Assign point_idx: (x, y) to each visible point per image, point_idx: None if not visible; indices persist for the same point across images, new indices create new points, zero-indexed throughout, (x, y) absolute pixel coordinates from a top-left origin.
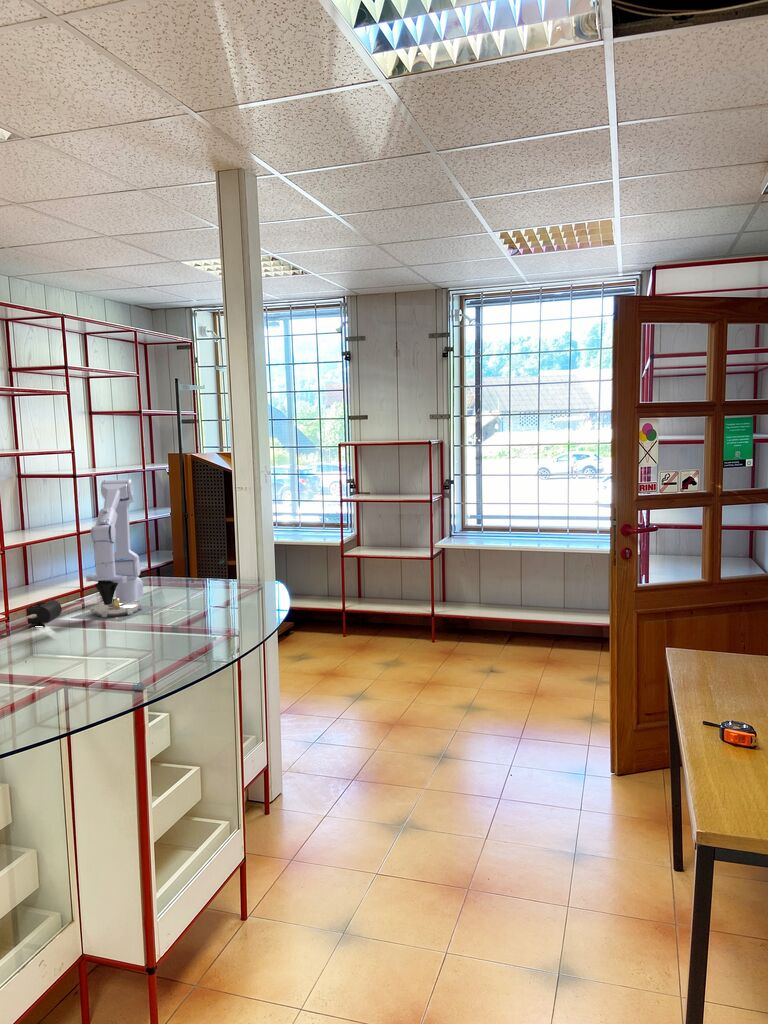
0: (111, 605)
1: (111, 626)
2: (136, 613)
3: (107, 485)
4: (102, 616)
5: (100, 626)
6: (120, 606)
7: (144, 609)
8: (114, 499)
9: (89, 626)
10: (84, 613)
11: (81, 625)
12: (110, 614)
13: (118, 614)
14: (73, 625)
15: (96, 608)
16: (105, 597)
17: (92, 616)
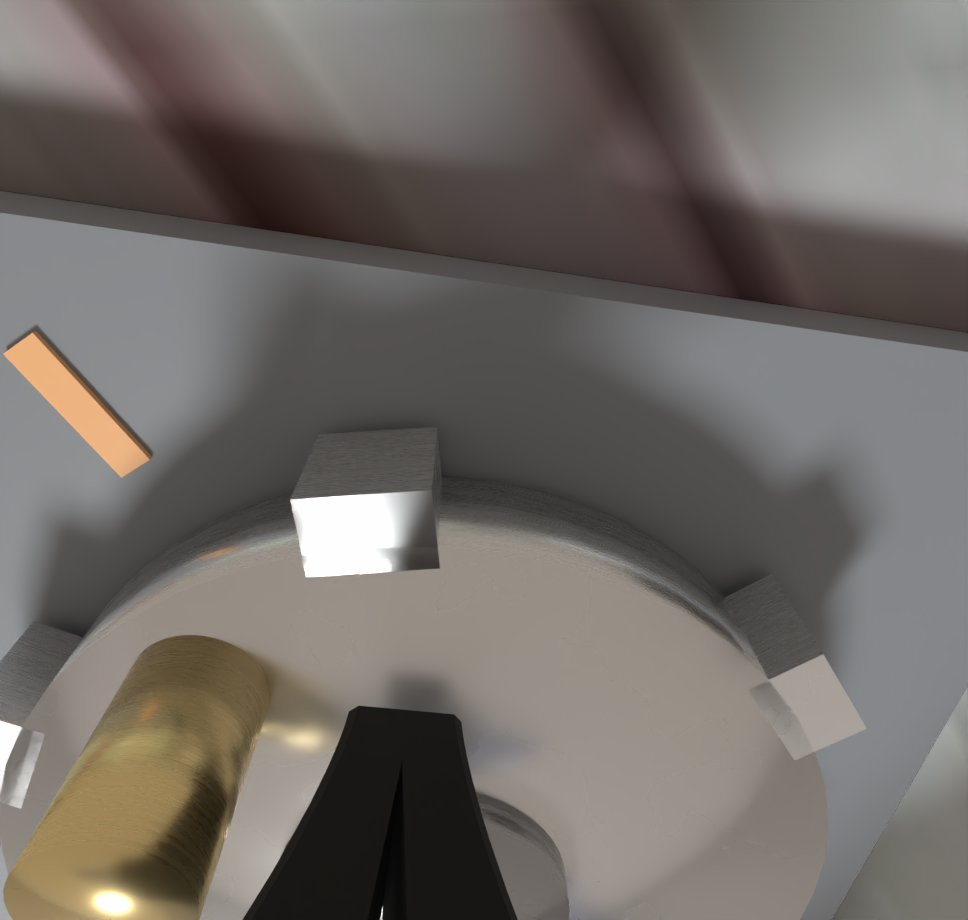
0: None
1: (49, 142)
2: None
3: None
4: (416, 434)
5: (288, 119)
6: (267, 828)
7: None
8: None
9: (531, 96)
10: (953, 671)
11: (750, 163)
12: (274, 514)
13: (154, 569)
14: (924, 146)
15: (688, 672)
16: (337, 879)
17: (704, 514)
